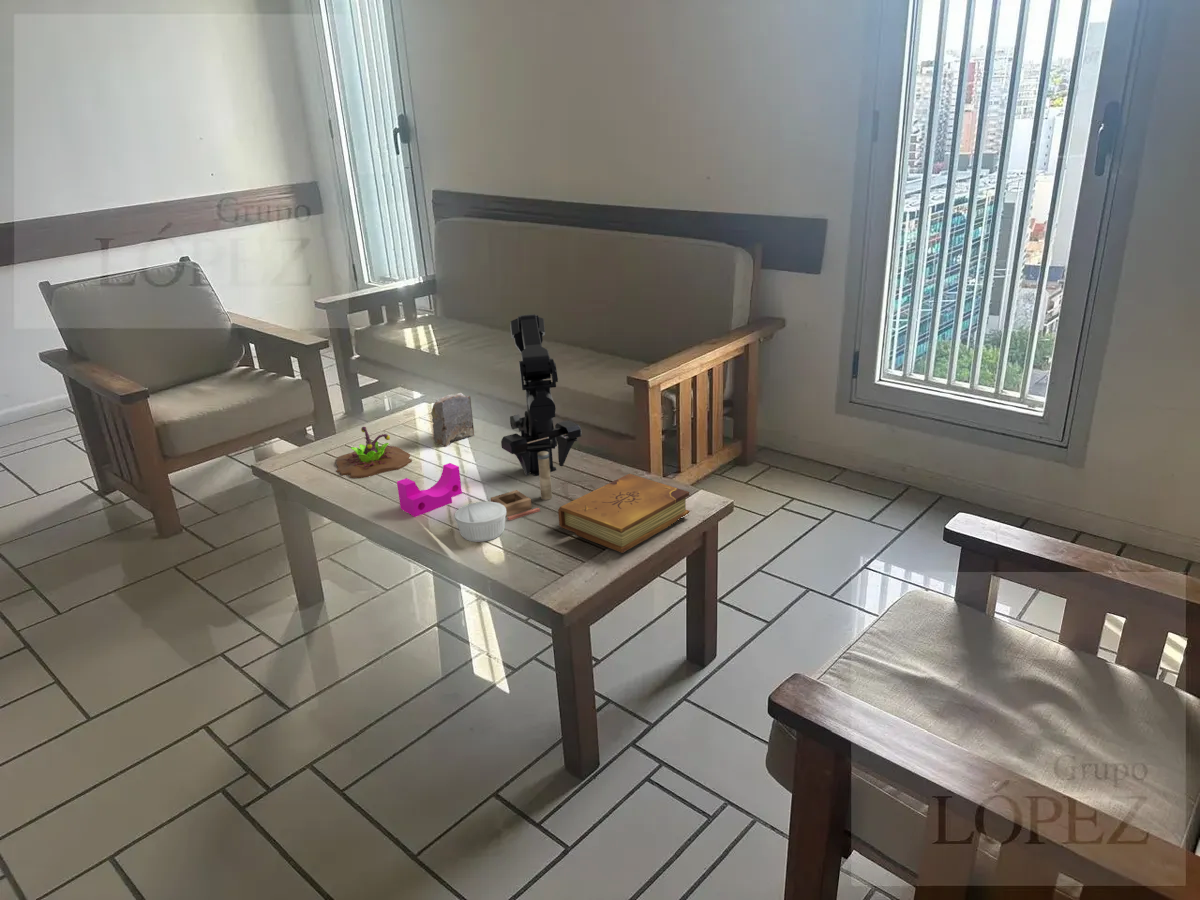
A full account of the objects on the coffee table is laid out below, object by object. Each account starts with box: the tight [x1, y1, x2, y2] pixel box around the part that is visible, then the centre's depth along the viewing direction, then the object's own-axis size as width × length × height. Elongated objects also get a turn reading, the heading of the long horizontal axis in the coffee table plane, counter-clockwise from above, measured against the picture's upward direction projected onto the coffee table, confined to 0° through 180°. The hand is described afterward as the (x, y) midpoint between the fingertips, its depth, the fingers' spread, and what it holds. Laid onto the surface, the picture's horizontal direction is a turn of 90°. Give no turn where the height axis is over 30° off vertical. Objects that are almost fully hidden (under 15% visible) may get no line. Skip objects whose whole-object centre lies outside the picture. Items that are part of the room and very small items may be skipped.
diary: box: [557, 473, 691, 554], centre depth 189 cm, size 23×19×6 cm
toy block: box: [396, 462, 463, 518], centre depth 202 cm, size 15×6×8 cm, turn 134°
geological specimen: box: [430, 392, 475, 447], centre depth 239 cm, size 11×6×15 cm, turn 138°
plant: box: [335, 426, 413, 479], centre depth 227 cm, size 20×20×11 cm
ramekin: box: [454, 501, 506, 543], centre depth 186 cm, size 11×11×5 cm
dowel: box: [538, 451, 553, 501], centre depth 201 cm, size 3×3×12 cm
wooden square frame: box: [489, 489, 541, 521], centre depth 197 cm, size 8×9×2 cm
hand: (544, 470), depth 200 cm, fingers open, 9 cm apart
